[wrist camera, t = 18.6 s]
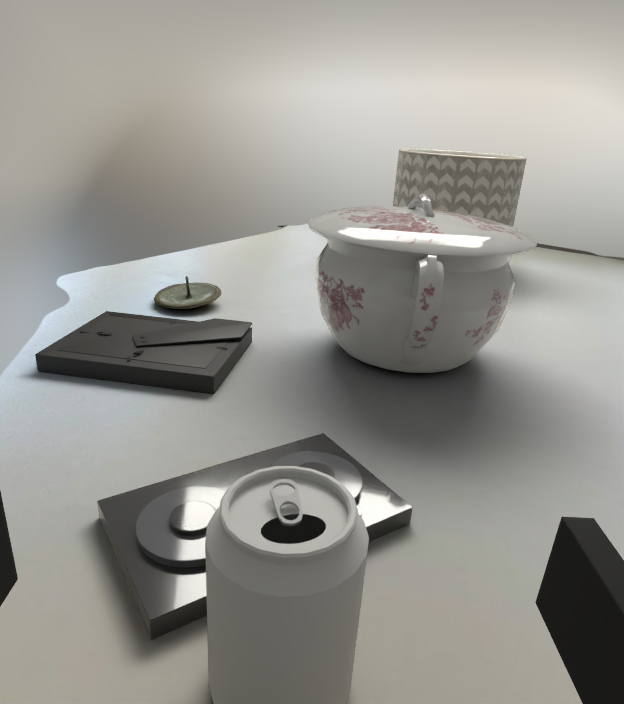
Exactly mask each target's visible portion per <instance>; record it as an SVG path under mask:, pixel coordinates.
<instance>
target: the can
mask: <svg viewBox="0 0 624 704" xmlns="http://www.w3.org/2000/svg"><path fill="white" fill-rule="evenodd" d="M368 543H369V536H368V533H367V529H366V526H365V522H364V520H363V519H362V518H361V516H360V515H359V514H358V509H357V506H356V502H355V498H354V497H353V496H352V494H351V493H350V492H349V491H348V489H347V488H346V487H345V486H344V485H343V484H341V483H340V482H338V481H337V480H335V479H334V478H333V477H331V476H329V475H327V474H324V473H322V472H319V471H317V470H314V469H309V468H304V467H298V466H274V467H269V468H265V469H260V470H256V471H254V472H252V473H250V474H248V475H245V476H243V477H241V478H239V479H238V480H237V481H236V482H235V483H233V484H232V485H231V486H230V487H229V488H228V489H227V490H226V492H225V494H224V496H223V497H222V499H221V501H220V507H218V508H217V509H216V511H215V512H214V514H213V516H212V518H211V519H210V521H209V523H208V525H207V531H206V541H205V553H206V592H207V632H208V671H209V689H210V693H211V697H212V700H213V704H346V703H347V701H348V699H349V692H350V686H351V679H352V671H353V663H354V655H355V647H356V639H357V631H358V623H359V615H360V607H361V599H362V591H363V583H364V575H365V567H366V559H367V551H368Z"/></svg>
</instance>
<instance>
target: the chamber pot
mask: <svg viewBox="0 0 624 704" xmlns="http://www.w3.org/2000/svg"><path fill="white" fill-rule="evenodd" d="M419 204H421V205H422V207H418V205H419ZM308 225H309V228H310V229H311V230H312V231H313V232H315V233H317V234H319V235H321V236H323V237H325V238H326V239H327V242H328V243H327V245H326V246H325V248H324V249H323V251H322V253H321V254H320V256H319V257H318V259H317V269H316V282H317V290H318V297H319V304H320V309H321V313H322V316H323V318H324V320H325V322H326V323H327V325H328V327H329V329H330V331H331V333H332V334H333V336H334V338H335V340H336V342H337V343H338V344H339V345H340V346H341V347H342V348H343V349H344V350H345V351H346V352H347V353H348V354H349V355H350V356H352V357H354V358H356V359H358V360H360V361H362V362H364V363H367V364H370V365H374V366H377V367H381V368H384V369H388V370H393V371H400V372H412V373H433V372H441V371H448V370H451V369H454V368H456V367H459V366H461V365H463V364H465V363H466V362H468V361H469V360H470V359H471V358H472V357H473V356H474V355H475V354H476V353H477V352H478V351H479V350H480V349H481V348H482V347H483V346H484V345H485V344H486V343H487V342H488V341H489V340H490V339H491V338H492V336H493V335H494V334H495V333H496V332H497V331H498V330H499V328H500V326H501V324H502V321H503V319H504V317H505V315H506V312H507V310H508V308H509V306H510V303H511V299H512V295H513V290H514V286H515V281H514V278H513V275H512V272H511V269H510V266H509V263H508V262H509V260H510V259H511V257H512V256H513V255H519V254H524V253H526V252H528V251H529V250H531V249H532V248H534V247H535V246H537V244H536V242H535V241H534V239H533V238H532V236H531V235H529V234H527V233H524V232H522V231H519V230H518V229H516V228H514V227H511V226H509V225H507V224H504V223H500V222H497V221H493V220H489V219H486V218H482V217H478V216H474V215H469V214H463V213H458V212H452V211H446V210H440V209H432V205H431V202H430V198H429V197H428V196H427V195H425V194H420V195H418V196H416V197H415V198H414V199H413V200H412V201H411V202H410V204H409V206H370V207H356V208H345V209H340V210H334V211H330V212H328V213H323V214H318V215H316V216H315V217H313V218H311V219H309V221H308Z"/></svg>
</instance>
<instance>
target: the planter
mask: <svg viewBox="0 0 624 704" xmlns="http://www.w3.org/2000/svg"><path fill="white" fill-rule="evenodd" d="M525 163H526V158H525V157H520V156H512V155H501V154H491V153H477V152H464V151H450V150H449V151H448V150H432V149H400V150H399V157H398V165H397V175H396V183H395V192H394V201H393V206H409V204H410V202H411V201H412V200H413V199H414V198H415V197H416V196H418V195H420V194H425V195H427V196H428V197H429V198H430V202H431V205H432V209H440V210H446V211H452V212H458V213H463V214H469V215H474V216H478V217H482V218H486V219H489V220H493V221H497V222H500V223H504V224H507V225H509V226H511V227H513V224H514V219H515V214H516V209H517V204H518V198H519V194H520V189H521V184H522V179H523V174H524V168H525ZM418 207H422V205H421V204H419V205H418Z"/></svg>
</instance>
